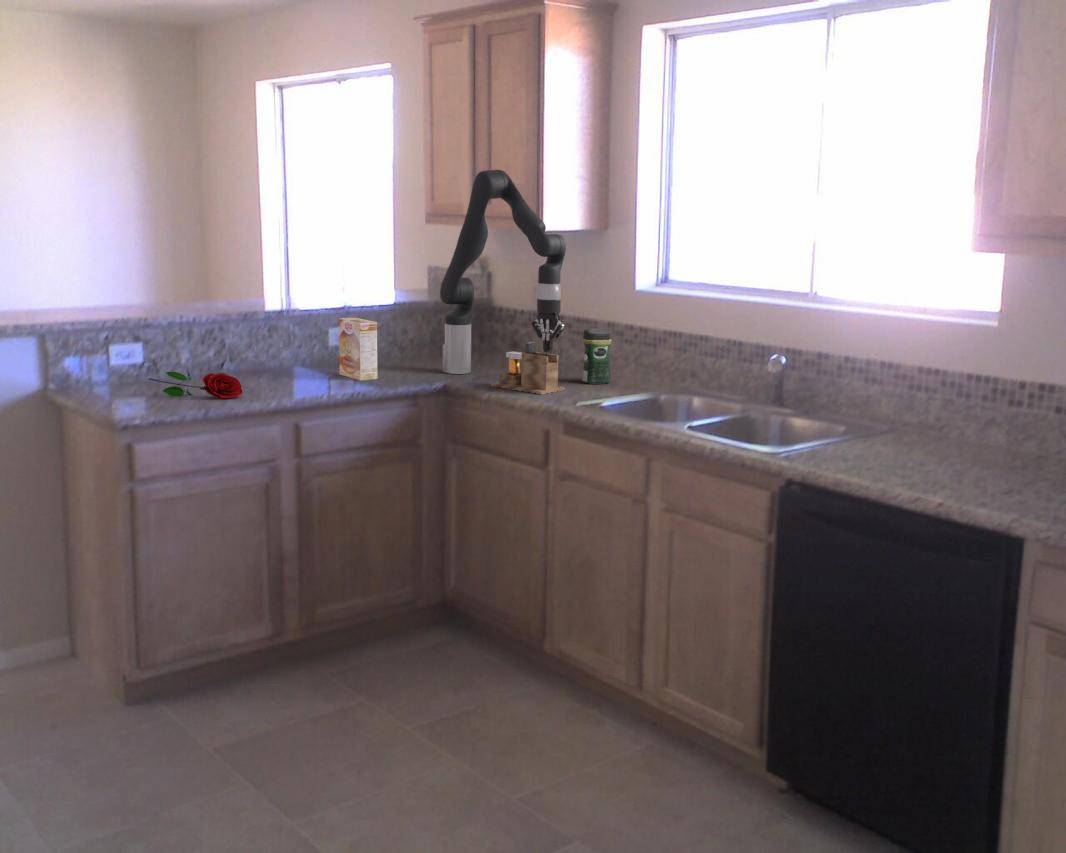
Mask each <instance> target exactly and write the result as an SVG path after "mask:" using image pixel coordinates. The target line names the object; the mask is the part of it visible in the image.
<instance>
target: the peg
mask: <svg viewBox="0 0 1066 853" xmlns="http://www.w3.org/2000/svg"><path fill="white" fill-rule="evenodd" d="M520 363H521V359H515V358H508V372H509V375H514V376H517V375H520V373H521V369H520V368H521V364H520Z"/></svg>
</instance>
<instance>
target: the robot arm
mask: <svg viewBox="0 0 1066 853" xmlns="http://www.w3.org/2000/svg"><path fill="white" fill-rule="evenodd" d="M494 199H502V200H503V201H504V202H506V204H508V206H509V207H510V210H511V215H512V219H513V222H514V223H515V225H516V227H517V228H518V229H519V230H520V231H521V232H522V233H523V234H524V235H525V237H527V240H528V242H529V244H530V246H531V248H532V250H533V252H534V253H536V255H538V256H540V257H543V258H546V260H545V262H544V264H541V265H539V267H538V270H537V271H538V277H537V278H538V279H537V280H538V281H537V282H538V283H537V289H536V293H537V294H536V312H537V313H538V314H537V315H536V316H537V317H536V319H535V320H534V321H531V323H530V324H531V326H532V328H533V330H534V332H535V333H536V336H537V337H538V339H540V338H541V339H542V349H543V353H552V351H553V348H554V343H553V342H554V340H557V339H559V337H560V336H561V334H562V333H563V332H564V330H565V329H566V324H565V323H562V322H561V317H560V313H561V306H562V305H561V304H562V302H561V300H562V299H561V298H562V291H561V290H562V288H561V270H562V266H563V264H564V260H565V256H566V251H567V244H566V240H565V238H564V237H563V236H562V235H561V234H559V233H549V234H547V233H546V224H545V222H544V221H543V220H542V219H541V218H540V216H539V215H537V214H536V213H535V211H534V210H533V209H532V208H531V207H530V206H529V204H528V203H527V201H526V200H525V199H524V198H523V195H522V194H521V192H520V191H519V189H518V188H517V186H516V185H515V183H514V182H513V180H512V178H511V177H510V176H509V174H508V173H507V172H506V171H505V170H502V169H490V170H489V169H488V170H482V171H479V172H478V173H477V175H476V176H475V177H474V181H473V184H472V188H471V193H470V198H469V203H468V207H467V210H466V215H465V217H464V218H465V219H464V221H463V224H462V227H461V229H460V233H459V235H458V238H457V241H456V246H455V249H454V251H453V255H452V257H451V261H450V263H449V264H448V265H449V266H448V268H447V270H446V271H445V274H444V277H443V279H442V281H441V284H440V288H439V298H440V301H442V303H443V304H444V305H450V306H452V305H456V306H457V307H456V308H455V309H454V310H453V311H452V312H449V313H447V314H446V315H445V317H444V344H442V372H444V373H445V374H452V375H466V374H470V373H471V372H472V370H471V368H472V367H471V366H472V364H471V363H472V318H473V316H474V302H475V300H474V299H475V287H474V283H473V281H472V279H471V278H469V277H463V275H464V274H465V272H466V271H467V270H468V268H469V267H470V266H472V265H473V264H474V263H475V262H476V261H477V260H478V259H479V258H480V256H482V254H483V251H484V249H485V247H486V244H487V241H488V237H489V228H488V224H487V222H486V216H485V214H486V210H487V206H488V204H489V202H490V200H494Z"/></svg>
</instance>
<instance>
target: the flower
mask: <svg viewBox="0 0 1066 853" xmlns="http://www.w3.org/2000/svg"><path fill="white" fill-rule="evenodd" d="M186 372H187V377H186V376H185V374H183V373H180V372H177V371H165V372H164V373H165V374H166V375H167V376H169V377H171V378H173V379H176V380H178V381H179V380H180V381H181V382H180V383H179V382H178V383H175V382H170V381H164V380H160V379H155V378H148V380H150V381H153V382H155V381H156V382H161V383H164V384H165V383H166V384H170V385H173V386H168V387H166V388H164V389H163V390H162V392H163V393H164V394H166V395H168V396H172V397H182V396H183V395H184V393H187V394H188V395H191V396H192V395H193V394H192V393H191V392H190V391H189V389H188V388H187V389H186V390H185V388H184V387H189V388H198V389H199V390H201V391H205V392H206V393H207V394H208V395H209V396H213V397H214V398H216V399H218V400H219V401H220V400H223V401H224V400H225V399H229V400H230V399H232V400H233V399H237V398H238V397H239V396H241V395H242V394H243V393H244V392H243V389H242V385H241V381H240V380H239V379H238V377H237V378H236V377H234V376H231V375H228V374H226V373H224V372H220V373H213V372H210V373H208V374H206V375H205V376H204V377H202V379H201V381H202V383H203V384H204V386H195V385H187V384H182V383H183V382H185V381H187V380H189V381H190V382H191V378H192V376H191V377H190V375H191V374H190V372H189V371H188V370H186ZM174 385H177V386H174ZM183 386H184V387H183Z"/></svg>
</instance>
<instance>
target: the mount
mask: <svg viewBox="0 0 1066 853" xmlns="http://www.w3.org/2000/svg"><path fill="white" fill-rule="evenodd" d="M521 353H522V360H521V364H520V368H521V369H520V375H517V376H514V375H509V371H508V372H503V373H500V374H499V381H497V382H491V383H490V387H493V386H495V387H494V388H499V387H501V388H500V389H505V388H506V390H511V389H512V391H516V390H518V392H522V391H524V392H523V393H528V392H530V393H529V394H534V393H536V395H539V394H542V395H547V394H546V393H548V394H552V393H551V392H553V393H558V392H563V390H564V391H565V387H566V386H565V387H564V386H559V384H558V383H559V356H560V355H559V354H552V353H548V352H538V351H536V355H533V354H526V353H525V352H521ZM540 355H541V356H540ZM557 391H558V392H557Z"/></svg>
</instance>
